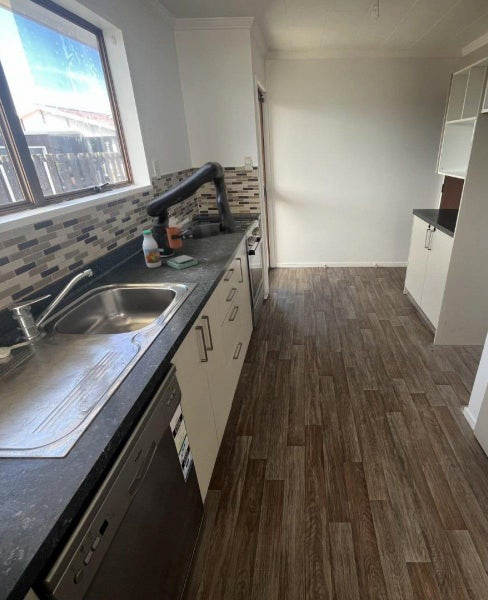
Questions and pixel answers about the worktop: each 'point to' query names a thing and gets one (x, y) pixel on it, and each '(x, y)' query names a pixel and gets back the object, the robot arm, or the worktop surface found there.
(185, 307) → the worktop surface
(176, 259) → the scale platform
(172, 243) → the cup
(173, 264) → the scale
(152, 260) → the milk bottle
